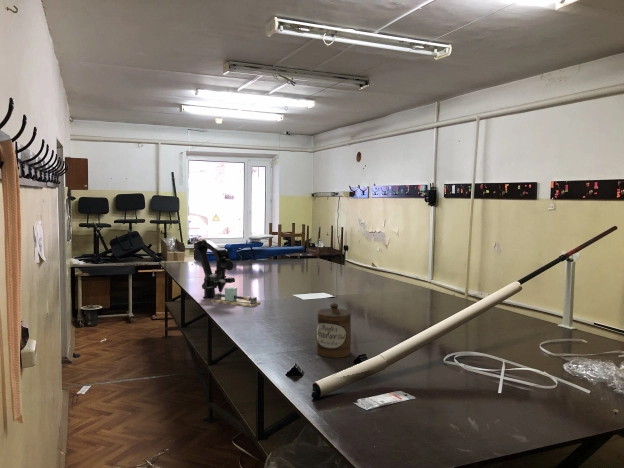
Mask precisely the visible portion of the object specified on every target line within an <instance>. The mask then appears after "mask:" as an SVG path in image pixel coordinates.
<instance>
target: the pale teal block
mask: <svg viewBox="0 0 624 468" xmlns="http://www.w3.org/2000/svg"><path fill="white" fill-rule="evenodd" d="M224 295H225V300H228V301H234V300H237V299H235V298H234V296H238V287H235V286H233V287H231V286H228V287H224Z"/></svg>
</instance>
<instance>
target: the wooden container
mask: <svg viewBox="0 0 624 468" xmlns="http://www.w3.org/2000/svg"><path fill="white" fill-rule="evenodd" d="M338 307H339V304H338V303H337V302H336V303H335V302H332V303H331V304H330V307H329V308H324V309H323V308H322V309H319V310H318V311H317V327H316V328H317V330H316V353H317V354H318V355H319V356H322V357H325V358H330V359H331V358H332V359H333V358H335V359H337V358H338V359H339V358H343V357H348V356H349V355H350V354H351V340H352V339H351V338H352V334H351V333H352V331H351V327H352V325H351V322H352V321H351V319H352V318H351V317H352V315H351V311H349V310H347V309H345V308H338Z"/></svg>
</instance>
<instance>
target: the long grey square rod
mask: <svg viewBox="0 0 624 468" xmlns="http://www.w3.org/2000/svg"><path fill="white" fill-rule="evenodd" d="M218 296H219V297H225V293H224V294H223V293H221V294H218ZM234 298H235V299H241V300H246V301H250V299H251V298H252V296H249V295H248V296H239V295H237V296H234ZM254 301H255V300H254Z"/></svg>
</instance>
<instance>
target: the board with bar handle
mask: <svg viewBox="0 0 624 468" xmlns="http://www.w3.org/2000/svg"><path fill="white" fill-rule="evenodd" d="M218 294H222V292H216V293H215V297H214V298H212V299H210V302H211V303H218V304H225V305H231V306H238V307H239V306H241V307H247V308H252V307H254V306H255V307H256V306H257V305H260V304H261V301H257V300H258V298H257V297H256V296H253V297H251V299H250V301H246V300H243V299H237V300H234V301H228V300H225V297H219V296H218ZM254 300H255V301H254Z"/></svg>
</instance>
